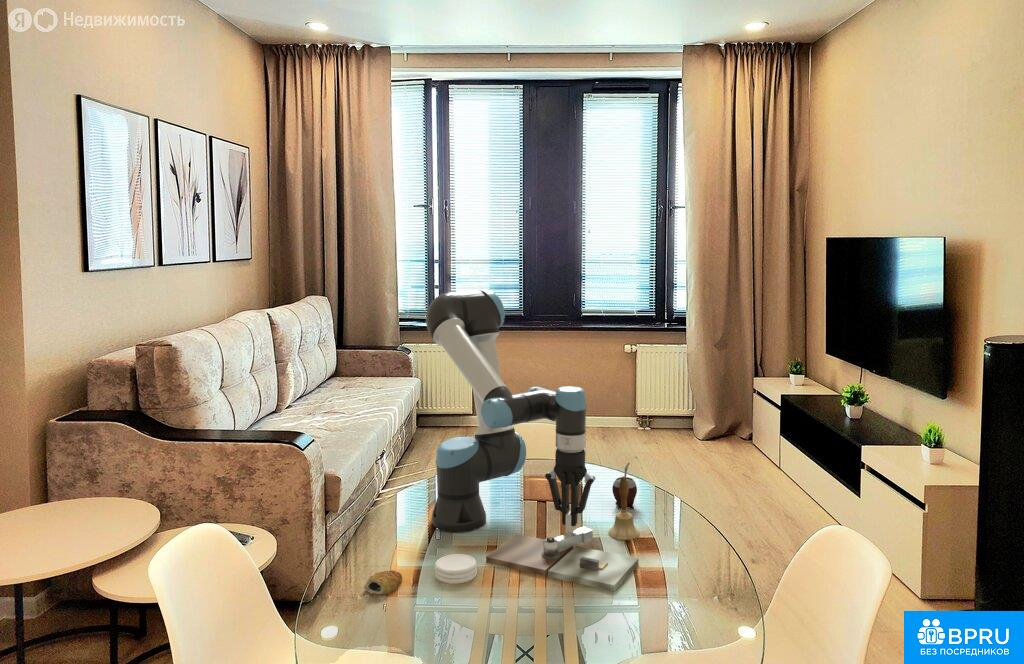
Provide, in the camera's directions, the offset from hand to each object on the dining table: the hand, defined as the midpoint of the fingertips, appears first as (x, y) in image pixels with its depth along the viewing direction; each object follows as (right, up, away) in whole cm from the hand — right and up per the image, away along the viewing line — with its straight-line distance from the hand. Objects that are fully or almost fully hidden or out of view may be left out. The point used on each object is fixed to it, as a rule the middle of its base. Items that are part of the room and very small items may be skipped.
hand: (569, 537), depth 209 cm
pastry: (-45, -7, -19) cm, 49 cm away
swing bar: (-1, -1, -4) cm, 4 cm away
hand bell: (+15, -2, +9) cm, 18 cm away
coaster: (-28, -6, -13) cm, 32 cm away
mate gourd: (+18, +1, +29) cm, 34 cm away
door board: (-3, -4, -8) cm, 10 cm away
